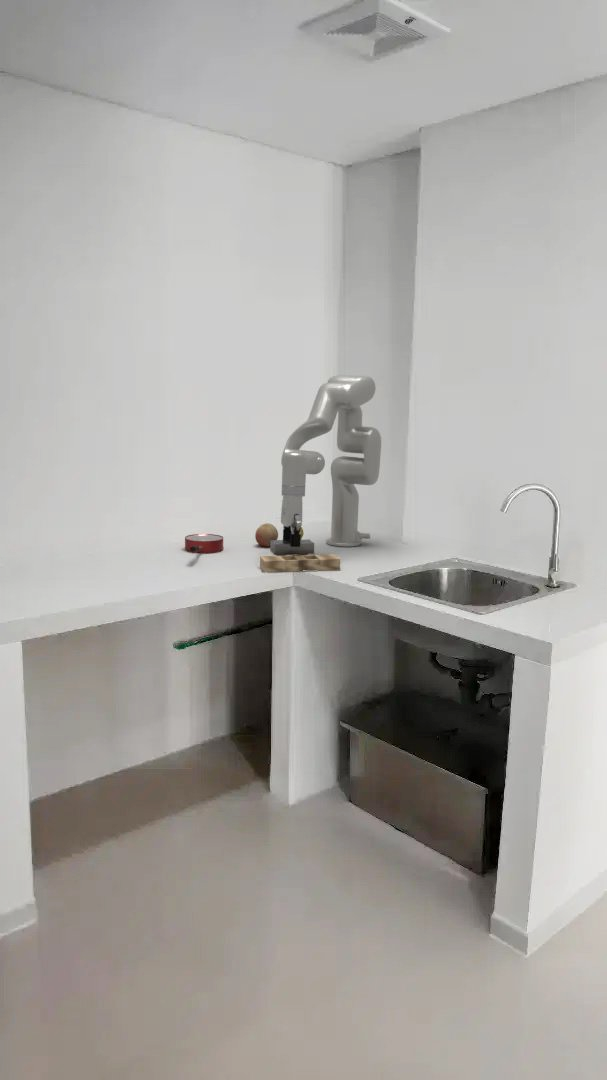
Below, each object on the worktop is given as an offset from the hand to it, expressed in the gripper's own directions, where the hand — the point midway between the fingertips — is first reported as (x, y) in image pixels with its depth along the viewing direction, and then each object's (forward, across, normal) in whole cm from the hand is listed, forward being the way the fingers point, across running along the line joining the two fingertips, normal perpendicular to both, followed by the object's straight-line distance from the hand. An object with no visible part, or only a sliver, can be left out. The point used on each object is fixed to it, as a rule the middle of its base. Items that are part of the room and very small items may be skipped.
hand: (291, 543), depth 256 cm
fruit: (+6, -26, -2) cm, 26 cm away
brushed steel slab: (+6, 0, 0) cm, 6 cm away
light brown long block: (+6, +10, 0) cm, 12 cm away
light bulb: (+6, -14, +4) cm, 16 cm away
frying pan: (+6, -13, -27) cm, 30 cm away
